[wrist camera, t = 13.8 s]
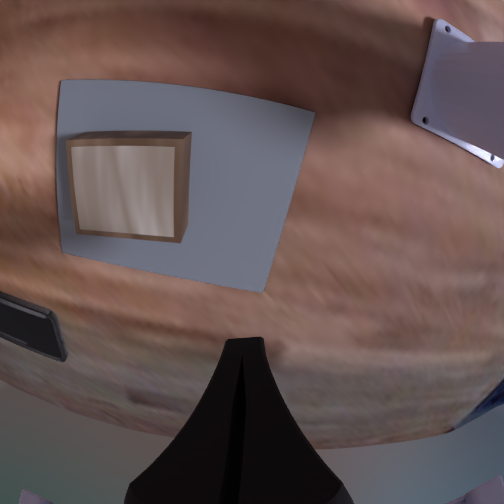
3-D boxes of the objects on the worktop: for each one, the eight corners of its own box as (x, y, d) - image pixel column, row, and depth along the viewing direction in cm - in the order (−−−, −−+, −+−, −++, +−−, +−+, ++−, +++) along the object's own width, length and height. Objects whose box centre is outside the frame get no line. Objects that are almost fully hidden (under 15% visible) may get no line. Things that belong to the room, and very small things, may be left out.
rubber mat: (313, 112, 16) (315, 112, 16) (262, 288, 23) (263, 292, 22) (65, 79, 14) (61, 80, 14) (65, 249, 21) (62, 252, 21)
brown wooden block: (182, 139, 14) (65, 140, 14) (180, 243, 17) (75, 234, 17) (191, 131, 16) (86, 131, 16) (188, 224, 20) (92, 216, 19)
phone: (-40, 279, 22) (52, 316, 24) (-35, 273, 23) (57, 309, 25) (-21, 327, 26) (67, 365, 28) (-17, 321, 27) (70, 358, 29)
